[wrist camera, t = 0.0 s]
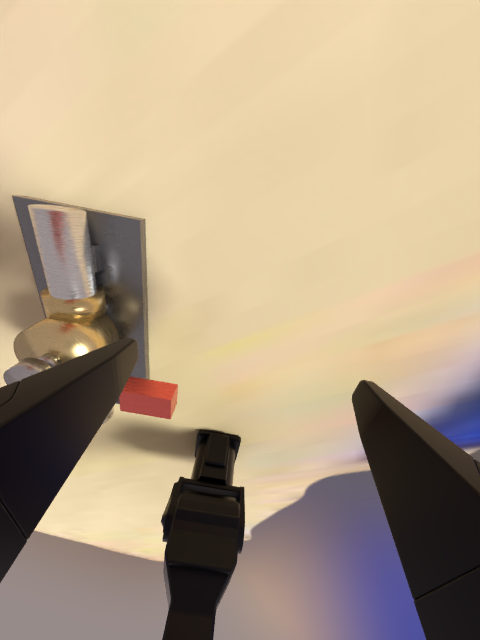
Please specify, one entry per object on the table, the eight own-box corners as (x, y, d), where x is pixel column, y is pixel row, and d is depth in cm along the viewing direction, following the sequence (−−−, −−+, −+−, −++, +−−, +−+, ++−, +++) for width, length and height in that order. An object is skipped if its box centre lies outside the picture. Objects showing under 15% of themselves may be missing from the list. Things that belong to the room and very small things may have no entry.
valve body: (150, 402, 32) (119, 460, 25) (71, 389, 31) (18, 443, 24) (145, 219, 20) (86, 229, 13) (22, 195, 20) (-103, 193, 13)
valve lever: (27, 379, 19) (8, 394, 18) (17, 353, 18) (-4, 366, 17) (176, 405, 20) (170, 421, 18) (177, 381, 18) (171, 397, 17)
